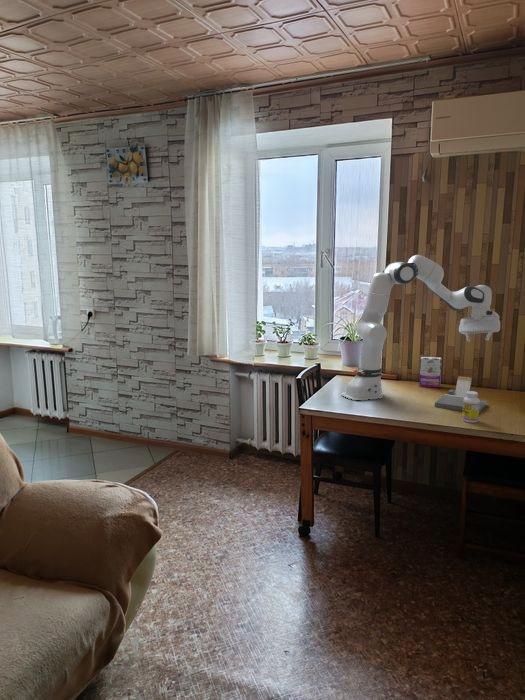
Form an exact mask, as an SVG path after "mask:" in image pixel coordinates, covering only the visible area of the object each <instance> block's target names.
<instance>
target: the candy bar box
mask: <svg viewBox="0 0 525 700" xmlns="http://www.w3.org/2000/svg"><path fill="white" fill-rule="evenodd" d="M419 359H420V360H419V383H418V384H419V385H418V386H419V387H421V386H426V387H425V388H434V387H439V388H438V389H440V388H441V382H442V362H443V361H442V360H443V359H442V357H440V356H439V357H436V356H435V357H434V356H420V358H419Z"/></svg>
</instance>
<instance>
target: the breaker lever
mask: <svg viewBox="0 0 525 700" xmlns="http://www.w3.org/2000/svg"><path fill="white" fill-rule="evenodd" d="M472 379H473V377H469V376H461V375H458V376H457V381H456V385H455V395H456V396H463V397H466V392H467V391H471V385H472Z"/></svg>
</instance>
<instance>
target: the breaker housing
mask: <svg viewBox="0 0 525 700" xmlns="http://www.w3.org/2000/svg"><path fill="white" fill-rule="evenodd" d="M455 391H456V389H449V390H448V391H447V392H448V393H445V394H443V396H441V397H440V398H439V399H438V400H436V401H435V402H434V407H436V408H442V409H447V410H454V411H461V412H463V399H464V398H465V397H463V396H456V395H455ZM479 400H480V399H479ZM486 406H487V400H480V404H479V414H480V413H481V412H482V411H483V409H485V407H486Z"/></svg>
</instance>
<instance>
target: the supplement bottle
mask: <svg viewBox="0 0 525 700" xmlns="http://www.w3.org/2000/svg"><path fill="white" fill-rule="evenodd" d="M478 394H479V393H478V392H477V391H472V390H470V391H467V392H466V397H465V398H464V399H463V411H461V412H462V413H461V416H462V417H461V420H462V421H463V422H466V423H469V424H470V423H471V424H472V423H474V424H475V423H478V422H479V416H480V415H479V414H480V413H479V404H480V398H478V396H479V395H478Z"/></svg>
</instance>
